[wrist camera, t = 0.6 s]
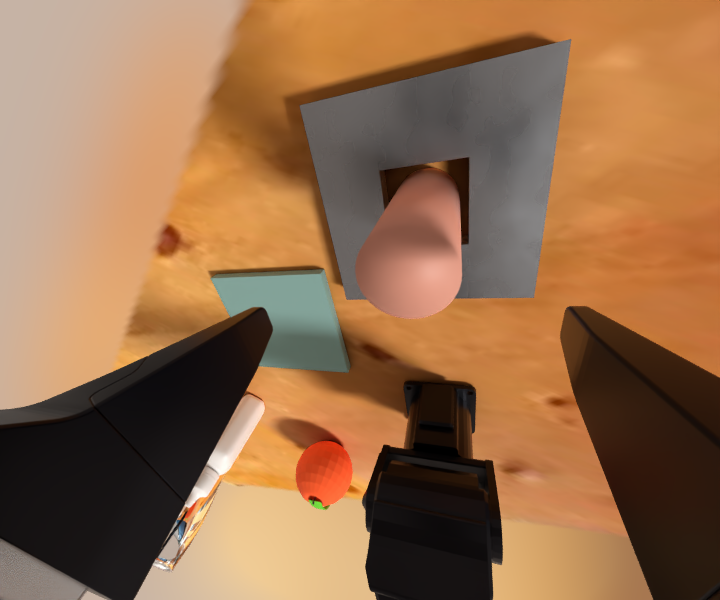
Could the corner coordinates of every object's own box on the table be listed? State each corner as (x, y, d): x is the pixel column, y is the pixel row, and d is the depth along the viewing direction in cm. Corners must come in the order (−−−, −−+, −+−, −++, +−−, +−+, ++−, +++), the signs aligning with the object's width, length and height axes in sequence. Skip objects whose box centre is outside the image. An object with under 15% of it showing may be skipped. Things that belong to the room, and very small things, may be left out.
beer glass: (223, 432, 46) (141, 551, 34) (250, 458, 49) (183, 577, 37) (196, 434, 49) (112, 544, 37) (223, 459, 52) (153, 568, 40)
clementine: (366, 467, 40) (351, 528, 35) (321, 461, 43) (300, 517, 37) (351, 431, 36) (331, 493, 31) (302, 426, 39) (275, 483, 33)
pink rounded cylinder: (459, 228, 20) (462, 319, 12) (399, 233, 21) (364, 318, 13) (459, 163, 18) (461, 219, 10) (392, 173, 19) (345, 229, 11)
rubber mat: (350, 366, 30) (348, 372, 29) (258, 360, 33) (254, 365, 33) (324, 269, 24) (320, 273, 24) (216, 274, 28) (210, 278, 27)
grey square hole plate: (529, 285, 20) (533, 297, 19) (351, 289, 25) (346, 299, 23) (561, 44, 14) (571, 39, 13) (309, 104, 18) (299, 105, 17)
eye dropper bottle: (228, 399, 40) (157, 494, 30) (254, 390, 37) (184, 493, 27) (251, 419, 41) (189, 516, 32) (277, 412, 39) (218, 517, 29)
